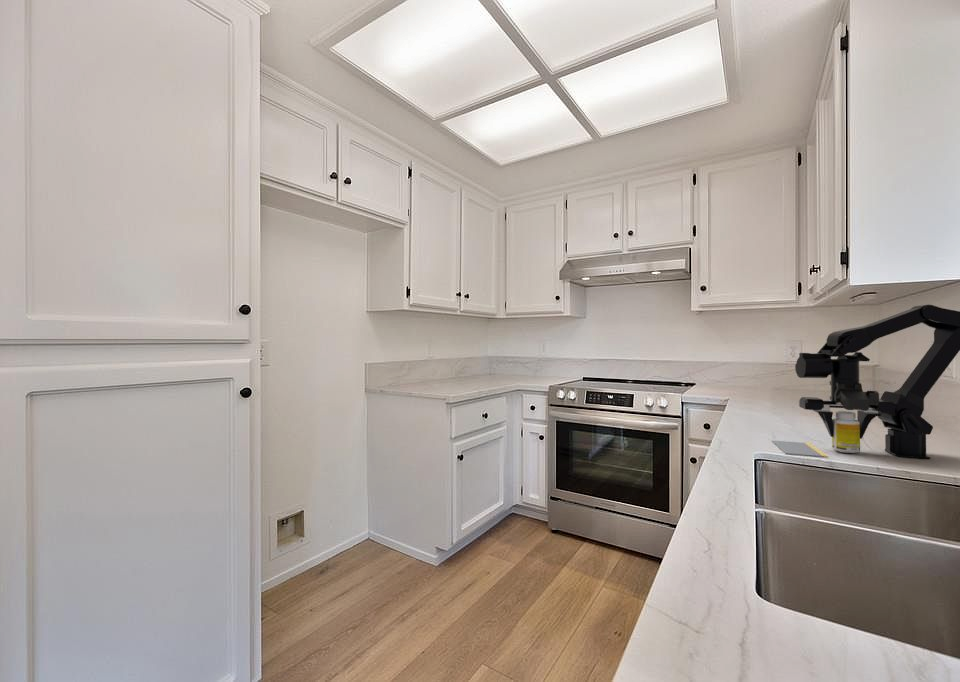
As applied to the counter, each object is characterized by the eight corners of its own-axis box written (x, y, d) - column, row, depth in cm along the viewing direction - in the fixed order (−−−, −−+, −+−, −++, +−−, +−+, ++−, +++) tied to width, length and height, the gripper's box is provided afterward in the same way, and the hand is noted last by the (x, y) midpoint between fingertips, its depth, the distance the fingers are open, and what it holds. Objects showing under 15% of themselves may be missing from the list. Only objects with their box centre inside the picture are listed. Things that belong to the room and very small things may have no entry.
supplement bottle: (866, 454, 108) (865, 414, 108) (841, 453, 108) (841, 413, 108) (849, 448, 113) (849, 410, 113) (827, 448, 114) (826, 410, 114)
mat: (808, 444, 120) (808, 442, 120) (827, 457, 106) (827, 455, 106) (771, 441, 123) (771, 440, 123) (785, 454, 109) (785, 452, 109)
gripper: (811, 380, 107) (812, 441, 107) (908, 382, 100) (909, 447, 100) (798, 376, 117) (799, 432, 117) (885, 378, 110) (885, 437, 110)
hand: (845, 437), depth 111 cm, fingers closed on supplement bottle, 6 cm apart
